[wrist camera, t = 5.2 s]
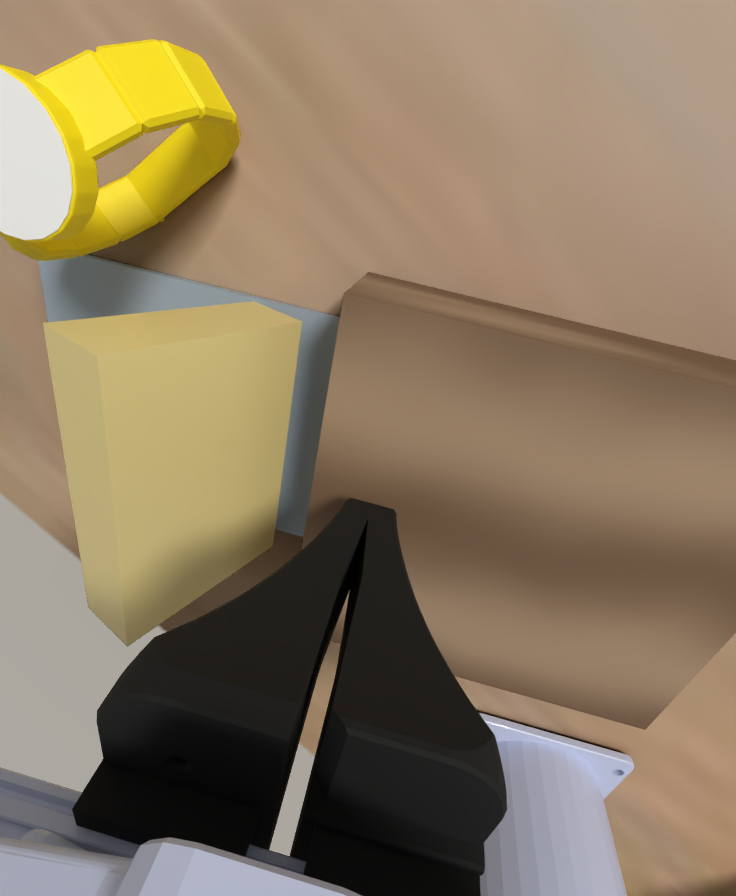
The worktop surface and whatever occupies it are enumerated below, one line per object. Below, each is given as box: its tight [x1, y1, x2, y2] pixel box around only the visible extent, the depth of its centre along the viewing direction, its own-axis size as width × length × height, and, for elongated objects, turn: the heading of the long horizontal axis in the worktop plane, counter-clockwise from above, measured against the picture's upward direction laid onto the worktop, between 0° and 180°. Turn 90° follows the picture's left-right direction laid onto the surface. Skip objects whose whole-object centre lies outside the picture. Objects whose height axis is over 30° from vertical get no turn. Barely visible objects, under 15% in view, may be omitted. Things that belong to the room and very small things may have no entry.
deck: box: [301, 272, 736, 730], centre depth 15 cm, size 12×13×4 cm
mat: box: [38, 255, 340, 537], centre depth 17 cm, size 9×10×1 cm
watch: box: [0, 39, 241, 261], centre depth 11 cm, size 6×3×6 cm, turn 121°
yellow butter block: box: [43, 301, 302, 646], centre depth 14 cm, size 9×6×2 cm
